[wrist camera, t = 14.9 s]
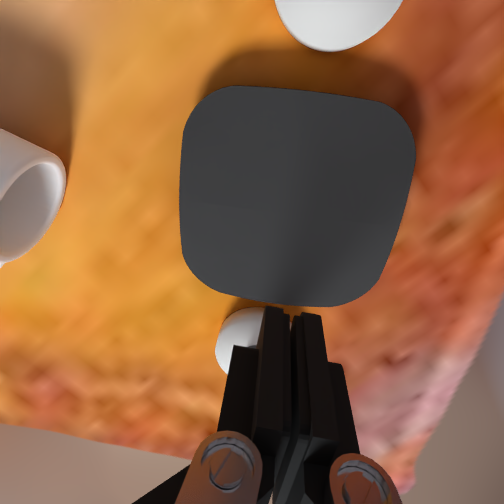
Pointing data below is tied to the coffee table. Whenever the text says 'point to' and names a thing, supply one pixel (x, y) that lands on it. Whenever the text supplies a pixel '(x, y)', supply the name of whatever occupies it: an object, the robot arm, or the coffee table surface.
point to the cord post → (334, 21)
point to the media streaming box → (292, 193)
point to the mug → (27, 194)
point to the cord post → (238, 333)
